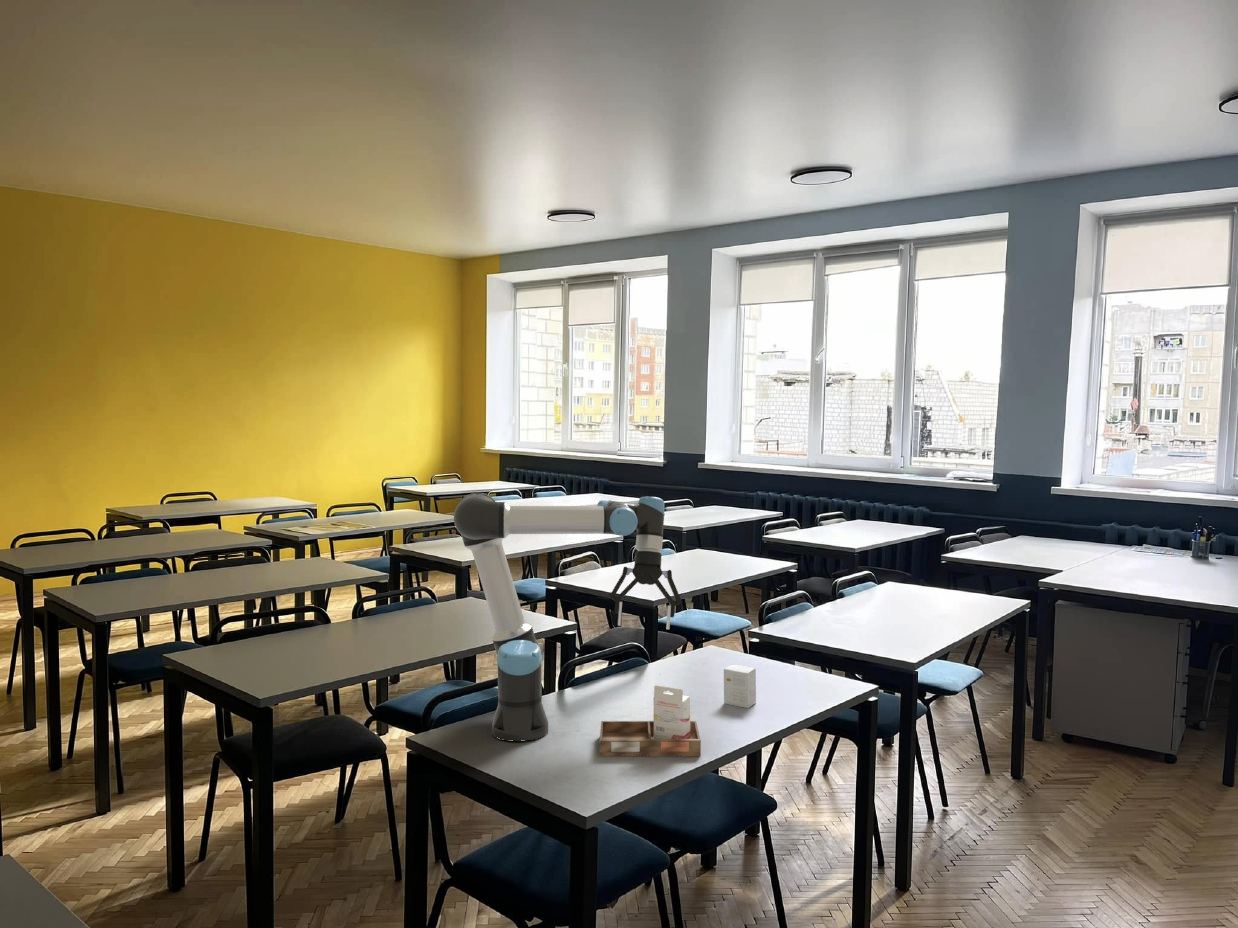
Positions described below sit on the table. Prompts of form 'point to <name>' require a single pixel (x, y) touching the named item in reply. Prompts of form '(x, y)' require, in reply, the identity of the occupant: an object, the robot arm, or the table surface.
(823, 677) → the table surface
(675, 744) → the wooden compartment tray
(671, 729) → the ink cartridge box
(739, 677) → the small box
